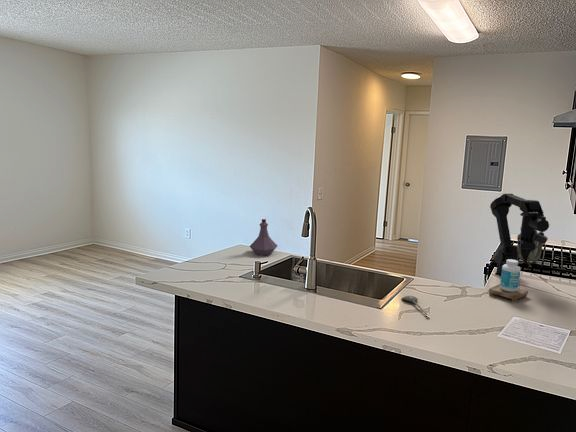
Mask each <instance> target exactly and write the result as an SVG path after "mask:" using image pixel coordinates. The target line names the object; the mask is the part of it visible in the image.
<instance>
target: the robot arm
mask: <svg viewBox="0 0 576 432" xmlns="http://www.w3.org/2000/svg"><path fill="white" fill-rule="evenodd" d="M512 206H516V207H517V208H519V210H520V211H521V213H520V214H519V215H520V216H521V217H522V219H521V225H520V233H518V235H517V237H516V238H517V244H519V248H520V251H521V255H522V257H523V259H522V260H523V261H525V263H526V262H528V261H527V259H528V256H529V254H530V252H531V251H533V250H535V249H536V244H535V243H534V242H535V241H538V242H540V243H542V244H543V246H544V245H546V243H547V241H548V239H549V238H548V237H547V236H546V235H545V233H544V232H546V231H547V230H548V229H549V227H550V223H549V221H548V220H547V217H546V216H545V214H544V210H543V208H542V206H541V203H540V201H539V200H535V199H525V198H524V197H523V198H522V197H520V196H517V195H515V194H513V193H502V195H500V196H499V197H497V198H495V199H494V200H493V201H492V202H491V203H490V205H489V208H490V210H491V213H492V215H493V216H494V218H496V219H495V220H496V225H497V231H498V236H499V242H500V247H499V249H498V254H497V255H496V256H495V257H494V262H495V263H496V264H497V265H496V271H495V273H494V275H496V276H500V277H501V273H502V266H503V265H504V264H507V263H506V261H507V259H512V260H516V261H518V259H519V257H518V252H517V245H516V246H515V245H513V244H512V243H513V242H512V237H511V233H510V227H509V222H508V214H509V212H510V208H511V207H512ZM535 230H537V233H536V231H535ZM519 239H520V240H519Z"/></svg>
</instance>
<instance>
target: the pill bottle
mask: <svg viewBox="0 0 576 432" xmlns="http://www.w3.org/2000/svg"><path fill="white" fill-rule="evenodd" d="M506 263H507V264H504V265H503V266H502V273H501V276H500V281H499V282H500V283H499V284H500V288H501V289H502V290H504V291H508V292H516V291H517V290H518V288H519V284H520V277H521V267H520V266H518V265H519V261H518V260H517V261H516V260H512V259H507V261H506Z"/></svg>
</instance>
